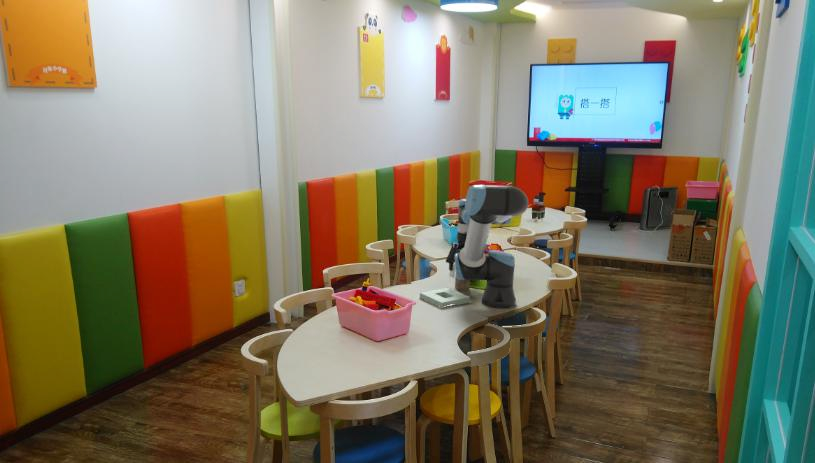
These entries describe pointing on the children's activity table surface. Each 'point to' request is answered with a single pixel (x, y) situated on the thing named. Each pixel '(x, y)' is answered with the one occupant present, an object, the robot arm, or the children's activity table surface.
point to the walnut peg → (462, 284)
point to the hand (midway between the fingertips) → (462, 275)
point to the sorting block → (449, 294)
